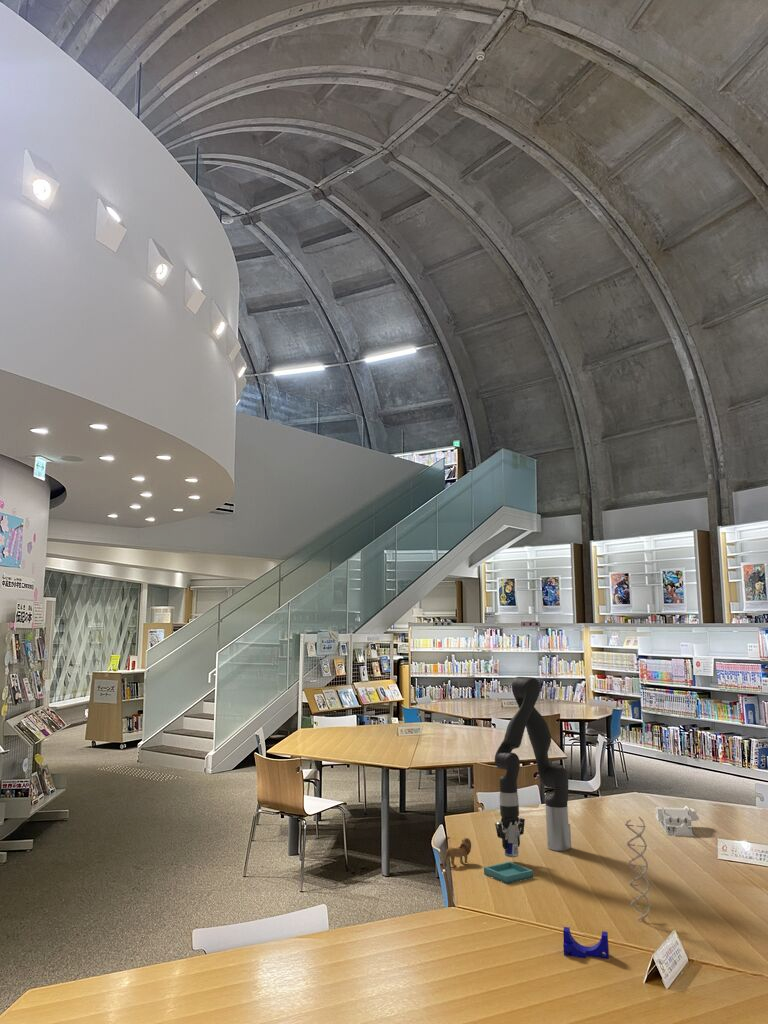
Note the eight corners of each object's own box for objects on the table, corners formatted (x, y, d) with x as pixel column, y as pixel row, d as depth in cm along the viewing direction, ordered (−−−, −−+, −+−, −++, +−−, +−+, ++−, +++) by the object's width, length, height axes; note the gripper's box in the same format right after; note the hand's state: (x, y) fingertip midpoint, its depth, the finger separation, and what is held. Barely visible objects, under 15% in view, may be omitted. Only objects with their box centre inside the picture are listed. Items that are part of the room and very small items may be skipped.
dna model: (636, 912, 229) (630, 814, 234) (655, 918, 224) (648, 817, 230) (626, 918, 224) (620, 818, 229) (646, 923, 220) (639, 821, 225)
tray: (510, 868, 274) (509, 861, 274) (533, 877, 263) (533, 870, 264) (484, 874, 267) (483, 867, 268) (506, 884, 256) (506, 876, 257)
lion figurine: (465, 859, 286) (464, 835, 288) (475, 862, 282) (474, 838, 284) (439, 866, 277) (439, 842, 278) (449, 870, 273) (448, 845, 274)
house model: (662, 835, 319) (660, 812, 321) (655, 824, 338) (653, 802, 340) (707, 837, 315) (705, 814, 317) (697, 826, 334) (695, 804, 336)
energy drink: (503, 853, 285) (502, 822, 287) (516, 853, 285) (514, 821, 287) (506, 858, 279) (505, 825, 281) (520, 857, 280) (518, 825, 282)
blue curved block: (563, 956, 198) (562, 932, 199) (565, 949, 202) (564, 926, 203) (608, 961, 194) (607, 938, 195) (609, 955, 199) (607, 931, 200)
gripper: (516, 799, 292) (518, 842, 290) (489, 804, 285) (491, 848, 282) (528, 802, 286) (531, 846, 283) (501, 807, 279) (503, 853, 276)
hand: (511, 847), depth 283 cm, fingers closed on energy drink, 5 cm apart
